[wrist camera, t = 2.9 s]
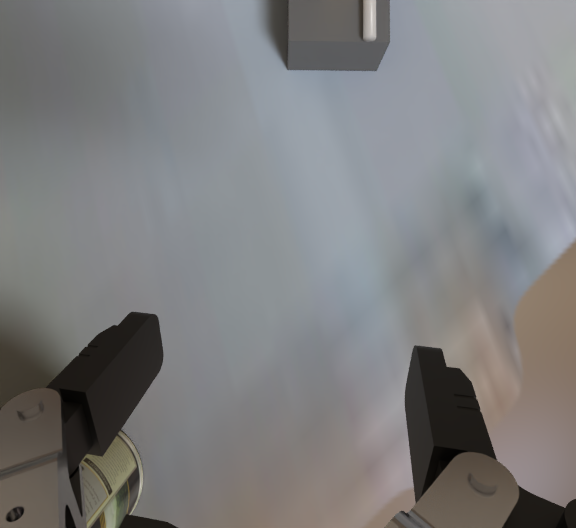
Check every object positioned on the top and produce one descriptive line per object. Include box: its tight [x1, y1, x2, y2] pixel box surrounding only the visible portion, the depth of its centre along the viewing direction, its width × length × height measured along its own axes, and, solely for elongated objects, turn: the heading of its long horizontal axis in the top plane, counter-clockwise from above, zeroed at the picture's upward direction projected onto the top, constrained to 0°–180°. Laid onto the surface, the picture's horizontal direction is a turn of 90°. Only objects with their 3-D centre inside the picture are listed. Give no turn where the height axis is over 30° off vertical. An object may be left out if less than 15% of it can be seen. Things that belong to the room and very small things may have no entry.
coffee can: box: [80, 431, 143, 528], centre depth 28 cm, size 10×10×14 cm
